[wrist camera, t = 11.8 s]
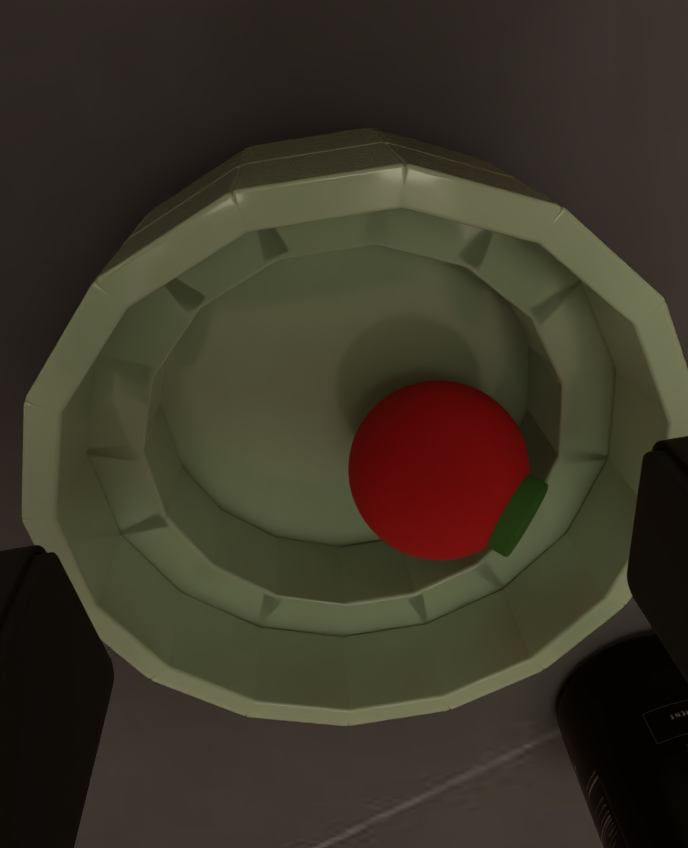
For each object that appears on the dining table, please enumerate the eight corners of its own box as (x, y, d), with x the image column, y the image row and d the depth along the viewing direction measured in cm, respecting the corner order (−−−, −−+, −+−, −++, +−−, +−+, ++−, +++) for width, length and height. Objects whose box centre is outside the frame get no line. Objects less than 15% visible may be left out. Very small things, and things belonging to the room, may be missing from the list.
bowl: (12, 179, 13) (-120, 246, 9) (604, 85, 13) (758, 107, 9) (174, 601, 19) (142, 759, 15) (574, 538, 19) (656, 679, 15)
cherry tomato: (311, 422, 13) (506, 538, 11) (419, 318, 15) (595, 403, 13) (312, 530, 16) (465, 633, 14) (401, 431, 18) (543, 510, 16)
